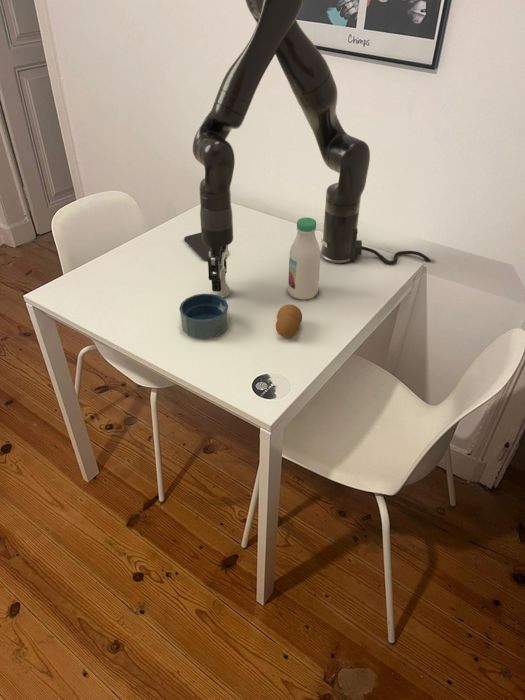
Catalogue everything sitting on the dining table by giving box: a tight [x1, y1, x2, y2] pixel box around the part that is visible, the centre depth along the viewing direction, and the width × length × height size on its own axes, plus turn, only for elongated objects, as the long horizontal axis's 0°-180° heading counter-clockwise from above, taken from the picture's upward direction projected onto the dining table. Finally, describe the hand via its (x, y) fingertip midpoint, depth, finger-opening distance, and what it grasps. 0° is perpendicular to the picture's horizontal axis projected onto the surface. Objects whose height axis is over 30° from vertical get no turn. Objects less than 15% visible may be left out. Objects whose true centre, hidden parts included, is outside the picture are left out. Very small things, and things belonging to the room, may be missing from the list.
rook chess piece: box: [212, 265, 231, 299], centre depth 135 cm, size 4×4×8 cm
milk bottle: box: [287, 217, 321, 300], centre depth 132 cm, size 8×8×20 cm
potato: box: [275, 303, 303, 339], centre depth 123 cm, size 6×9×6 cm
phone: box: [183, 232, 211, 261], centre depth 157 cm, size 7×1×15 cm
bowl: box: [178, 293, 230, 339], centre depth 125 cm, size 11×11×6 cm
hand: (219, 281), depth 135 cm, fingers open, 8 cm apart
